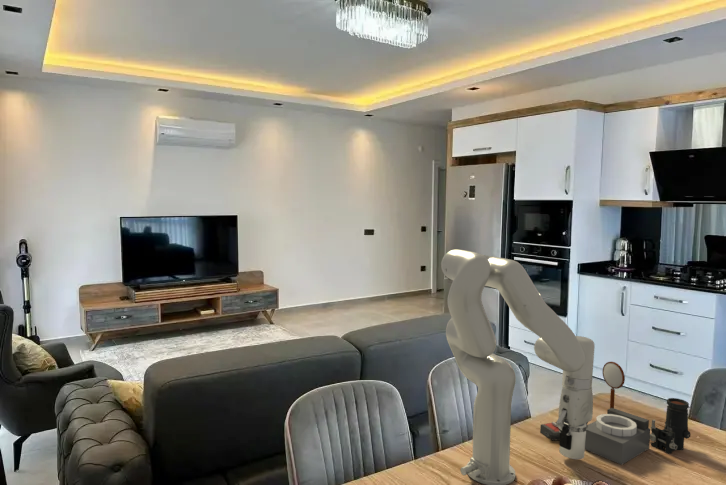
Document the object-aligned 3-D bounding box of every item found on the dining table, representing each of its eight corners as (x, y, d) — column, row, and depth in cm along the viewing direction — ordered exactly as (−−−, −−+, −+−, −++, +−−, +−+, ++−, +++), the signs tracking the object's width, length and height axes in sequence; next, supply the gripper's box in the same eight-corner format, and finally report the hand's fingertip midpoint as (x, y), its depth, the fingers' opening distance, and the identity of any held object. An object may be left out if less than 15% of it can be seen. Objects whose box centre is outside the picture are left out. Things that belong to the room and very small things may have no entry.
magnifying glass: (623, 426, 160) (626, 365, 159) (619, 427, 160) (622, 366, 158) (603, 415, 168) (605, 358, 167) (599, 416, 168) (601, 358, 166)
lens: (576, 461, 134) (578, 428, 134) (554, 451, 139) (557, 419, 139) (588, 455, 138) (591, 423, 137) (567, 446, 143) (569, 415, 143)
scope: (650, 399, 147) (673, 394, 151) (647, 444, 148) (671, 438, 152) (676, 409, 140) (700, 404, 144) (674, 457, 141) (697, 450, 145)
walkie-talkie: (554, 446, 148) (607, 436, 154) (555, 431, 148) (608, 422, 154) (535, 433, 156) (586, 424, 163) (535, 419, 156) (586, 411, 162)
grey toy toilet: (621, 464, 137) (623, 435, 136) (580, 447, 146) (581, 419, 146) (649, 448, 146) (650, 420, 145) (609, 433, 156) (610, 407, 155)
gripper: (571, 391, 129) (567, 458, 130) (606, 380, 139) (601, 442, 141) (546, 382, 135) (542, 446, 137) (581, 372, 146) (577, 432, 147)
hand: (572, 444), depth 139 cm, fingers closed on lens, 6 cm apart
